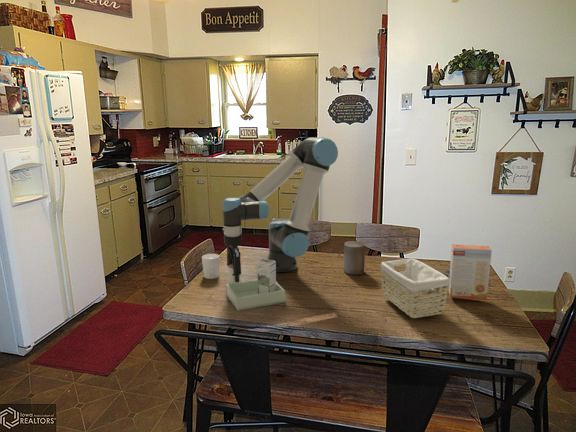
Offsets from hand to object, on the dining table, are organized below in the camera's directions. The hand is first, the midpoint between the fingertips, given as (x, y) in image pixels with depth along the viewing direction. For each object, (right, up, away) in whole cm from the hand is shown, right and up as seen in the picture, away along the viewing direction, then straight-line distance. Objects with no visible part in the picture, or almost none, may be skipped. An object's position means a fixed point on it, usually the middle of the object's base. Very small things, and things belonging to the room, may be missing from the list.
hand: (234, 285), depth 179 cm
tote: (+10, -3, -13) cm, 17 cm away
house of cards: (+99, +1, +6) cm, 99 cm away
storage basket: (+71, -4, -19) cm, 74 cm away
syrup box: (+15, -2, -12) cm, 19 cm away
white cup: (-12, +2, +11) cm, 16 cm away
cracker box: (+96, -2, -12) cm, 97 cm away
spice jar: (0, 0, 0) cm, 0 cm away
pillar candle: (+55, +4, +17) cm, 57 cm away
